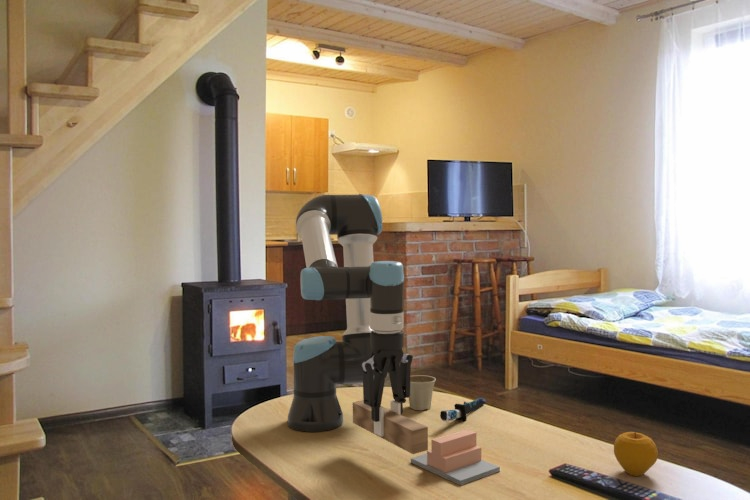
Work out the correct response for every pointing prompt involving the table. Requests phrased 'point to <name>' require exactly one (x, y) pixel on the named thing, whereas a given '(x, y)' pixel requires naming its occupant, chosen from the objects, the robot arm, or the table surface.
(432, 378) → the flower pot
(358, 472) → the table surface
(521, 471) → the table surface
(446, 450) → the pink stepped block
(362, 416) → the batten
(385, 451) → the table surface
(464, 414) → the knife
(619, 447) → the apple
